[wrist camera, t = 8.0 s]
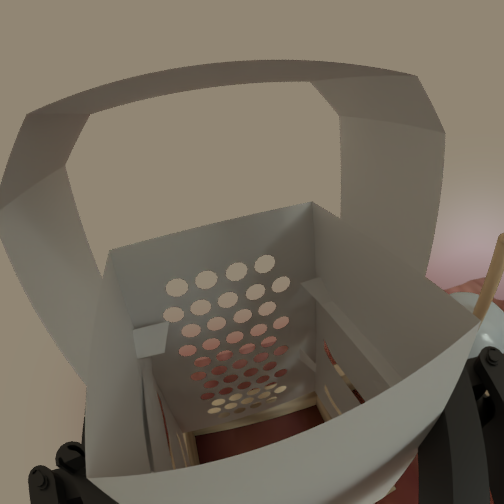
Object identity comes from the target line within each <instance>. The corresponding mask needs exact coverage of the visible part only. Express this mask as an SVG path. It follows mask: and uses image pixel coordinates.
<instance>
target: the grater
mask: <svg viewBox="0 0 504 504" xmlns="http://www.w3.org/2000/svg"><path fill="white" fill-rule="evenodd" d="M293 81H307V82H311V83H312V85H313V86H314V87H315V88H316V89H317V90H318V91H319V92H320V94H321V95H322V96H323V97H324V98H325V99H326V100H327V101H328V103H329V104H330V105H331V106H332V107H333V109H334V110H335V111H336V112H337V114H338V115H339V120H340V143H341V219H340V218H338V217H336V216H335V215H333V214H332V213H330V212H328V211H327V210H325V209H324V208H322V207H320V206H319V205H317V204H315V203H313V202H308V203H303V204H299V205H293V206H289V207H284V208H279V209H275V210H270V211H266V212H261V213H257V214H252V215H248V216H243V217H239V218H235V219H230V220H226V221H222V222H217V223H213V224H209V225H206V226H201V227H197V228H193V229H189V230H185V231H181V232H177V233H173V234H169V235H165V236H161V237H157V238H154V239H149V240H146V241H142V242H138V243H134V244H131V245H127V246H123V247H120V248H117V249H112V250H110V251H109V254H108V258H107V262H106V266H105V271H104V275H103V279H102V277H101V275H100V272H99V270H98V267H97V265H96V262H95V260H94V257H93V255H92V252H91V249H90V246H89V243H88V241H87V238H86V235H85V232H84V229H83V226H82V223H81V220H80V217H79V214H78V211H77V208H76V204H75V201H74V197H73V194H72V190H71V187H70V183H69V179H68V175H67V171H66V167H65V164H66V162H67V160H68V158H69V155H70V153H71V151H72V149H73V147H74V145H75V143H76V141H77V139H78V137H79V135H80V133H81V131H82V129H83V127H84V125H85V123H86V121H87V119H88V117H89V116H90V114H93V113H96V112H99V111H102V110H105V109H109V108H113V107H116V106H120V105H124V104H127V103H131V102H135V101H139V100H143V99H148V98H152V97H157V96H162V95H167V94H172V93H177V92H183V91H189V90H196V89H202V88H209V87H218V86H226V85H236V84H248V83H263V82H293ZM444 152H445V131H444V129H443V127H442V125H441V122H440V120H439V118H438V116H437V114H436V112H435V110H434V107H433V105H432V103H431V101H430V99H429V98H428V95H427V94H426V92H425V90H424V88H423V86H422V84H421V82H420V81H419V79H418V77H417V76H415V75H411V74H407V73H402V72H397V71H392V70H387V69H381V68H375V67H368V66H361V65H354V64H345V63H335V62H323V61H306V60H304V61H303V60H252V61H235V62H223V63H211V64H203V65H196V66H188V67H182V68H175V69H170V70H164V71H159V72H154V73H149V74H144V75H140V76H136V77H132V78H127V79H123V80H120V81H116V82H112V83H109V84H105V85H102V86H99V87H96V88H92V89H90V90H86V91H83V92H80V93H78V94H75V95H72V96H69V97H67V98H64V99H61V100H59V101H56V102H54V103H51V104H49V105H46V106H44V107H42V108H39V109H37V110H35V111H33V112H31V113H29V114H27V115H26V117H25V119H24V121H23V124H22V126H21V128H20V131H19V133H18V135H17V138H16V141H15V143H14V146H13V148H12V151H11V154H10V157H9V160H8V162H7V165H6V169H5V172H4V175H3V178H2V182H1V185H0V238H1V240H2V243H3V246H4V248H5V250H6V253H7V255H8V258H9V260H10V262H11V264H12V266H13V269H14V271H15V273H16V275H17V277H18V279H19V281H20V283H21V285H22V287H23V289H24V291H25V293H26V295H27V297H28V299H29V300H30V302H31V304H32V306H33V308H34V309H35V311H36V313H37V315H38V316H39V318H40V320H41V321H42V323H43V325H44V326H45V328H46V330H47V331H48V333H49V334H50V336H51V337H52V339H53V340H54V342H55V343H56V345H57V346H58V348H59V349H60V351H61V352H62V354H63V355H64V356H65V358H66V359H67V361H68V362H69V363H70V365H71V366H72V368H73V369H74V370H75V372H76V373H77V374H78V375H79V377H80V378H81V379H82V381H83V382H84V383H85V384H86V386H87V390H86V391H87V392H86V408H85V461H86V478H87V479H88V480H90V481H91V482H92V483H93V484H94V485H96V486H97V487H98V488H99V489H101V490H102V491H103V492H104V493H106V494H107V495H108V496H110V497H111V498H112V499H114V500H115V501H116V502H118V503H119V504H374V503H375V502H377V501H379V500H380V499H382V498H384V496H385V495H386V494H387V493H388V492H389V490H390V489H391V488H392V487H393V486H394V484H395V483H396V482H397V480H398V479H399V478H400V477H401V475H402V474H403V473H404V471H405V470H406V469H407V467H408V466H409V464H410V463H411V462H412V460H413V459H414V457H415V456H416V454H417V453H418V446H419V445H420V444H421V443H422V441H423V440H424V438H425V437H426V436H427V434H428V433H429V432H430V430H431V429H432V427H433V426H434V424H435V423H436V421H437V420H438V418H439V417H440V415H441V413H442V412H443V410H444V408H445V406H446V404H447V402H448V400H449V398H450V396H451V394H452V392H453V390H454V388H455V386H456V384H457V382H458V379H459V377H460V375H461V373H462V370H463V368H464V366H465V363H466V361H467V358H468V356H469V353H470V351H471V348H472V345H473V343H474V340H475V337H476V334H477V331H478V328H479V325H480V322H481V320H480V319H478V318H477V317H476V316H475V315H474V314H472V313H471V312H470V311H469V310H468V309H466V308H465V307H464V306H463V305H461V304H460V303H459V302H458V301H456V300H455V299H454V298H452V297H451V296H450V295H449V294H447V293H446V292H445V291H443V290H442V289H441V288H439V287H438V286H437V285H436V284H434V283H433V282H432V281H430V280H429V279H428V278H426V277H425V275H426V271H427V266H428V262H429V258H430V253H431V248H432V244H433V239H434V234H435V228H436V222H437V216H438V210H439V203H440V195H441V187H442V178H443V167H444ZM263 255H271V256H273V257H274V259H275V265H274V267H273V268H272V269H271V271H269V272H267V273H261V274H260V273H258V272H256V271H255V268H254V265H255V262H256V261H257V259H258V258H259V257H261V256H263ZM237 262H242V263H244V264H245V265H246V266H247V268H248V270H247V274H246V276H245V277H244V278H243V279H241V280H239V281H231V280H229V279H227V277H226V270H227V268H228V267H229V266H230V265H232V264H233V263H237ZM208 270H209V271H213V272H215V273H216V275H217V276H218V279H217V283H216V284H215V285H214V286H213V287H211V288H209V289H201V288H198V287H197V285H196V284H195V278H196V277H197V275H198V274H199V273H201V272H203V271H208ZM282 276H287V277H288V278H289V279H290V285H289V287H288V288H287V289H286V290H285V291H283V292H280V293H276V292H273V291H272V288H271V287H272V283H273V282H274V281H275V280H276V279H277V278H279V277H282ZM176 278H181V279H183V280H185V281H186V282H187V283H188V291H187V292H186V293H185V294H184V295H182V296H180V297H173V296H170V295H168V294H167V292H166V285H167V283H168V282H169V281H171V280H173V279H176ZM254 284H262V285H264V287H265V289H266V290H265V294H264V295H263V296H262V297H261V298H259V299H257V300H249V299H247V298H246V296H245V294H246V291H247V289H248V288H249V287H250V286H252V285H254ZM226 292H234V293H236V294H237V296H238V302H237V303H236V304H235V305H234V306H232V307H230V308H222V307H220V306H219V305H218V303H217V302H218V298H219V297H220V296H221V295H222V294H224V293H226ZM203 299H205V300H207V301H209V302H210V303H211V309H210V311H209V312H208V313H206V314H204V315H199V316H197V315H194V314H192V312H191V311H190V306H191V305H192V303H193V302H195V301H197V300H203ZM269 301H272V302H275V304H276V309H275V310H274V312H273V313H271V314H269V315H268V316H261V315H259V313H258V309H259V307H260V306H261V305H262V304H263V303H265V302H269ZM170 307H179V308H181V309H182V310H183V311H184V317H183V318H182V320H180V321H178V322H174V323H173V322H172V323H171V322H169V321H166V320H165V319H164V318H163V313H164V311H165V310H166V309H168V308H170ZM241 309H249V310H251V312H252V317H251V318H250V319H249V320H248V321H246V322H244V323H236V322H234V320H233V316H234V314H235V313H236V312H237V311H239V310H241ZM283 316H286V317H289V323H288V324H287V325H286V326H285V327H283V328H281V329H274V328H273V323H274V321H275V320H276V319H278V318H280V317H283ZM214 317H223V318H225V320H226V325H225V326H224V327H223V328H222V329H220V330H217V331H212V330H209V329H208V328H207V322H208V321H209V320H210V319H212V318H214ZM188 324H197V325H199V326H200V327H201V332H200V333H199V334H198V335H197V336H195V337H190V338H188V337H185V336H183V335H182V334H181V330H182V328H183V327H184V326H186V325H188ZM257 324H266V325H267V327H268V328H267V331H266V332H265V333H264V334H262V335H260V336H252V335H251V334H250V330H251V329H252V328H253V327H254V326H255V325H257ZM134 328H135V329H134ZM234 331H240V332H242V333H243V334H244V336H243V339H242V340H241V341H239V342H237V343H234V344H230V343H227V341H226V337H227V335H228V334H230V333H232V332H234ZM269 336H274V337H276V338H277V340H276V343H274V344H273V345H272V346H270V347H266V348H264V347H262V346H261V342H262V341H263V340H264V339H265V338H267V337H269ZM210 338H216V339H219V341H220V345H219V346H218V348H216V349H214V350H205V349H204V348H203V347H202V344H203V342H204V341H205V340H207V339H210ZM324 340H325V342H326V344H327V346H328V349H329V351H330V353H331V355H332V357H333V359H334V360H335V362H336V363H337V364H338V366H339V367H340V368H341V370H342V371H343V372H344V374H345V375H346V376H347V378H348V379H349V380H350V382H351V383H352V384H353V386H354V387H355V388H356V390H357V391H358V393H359V394H360V395H361V397H362V398H363V399H364V401H365V403H363V404H360V402H359V401H358V399H357V398H356V397H355V395H354V394H353V393H352V391H351V390H350V388H349V387H348V386H347V384H346V383H345V382H344V380H343V379H342V377H341V376H340V375H339V373H338V372H337V371H336V369H335V368H334V366H333V365H332V363H331V361H330V359H329V358H328V356H327V354H326V352H325V350H324ZM248 343H253V344H255V346H256V347H255V350H254V351H253V352H251V353H249V354H240V352H239V349H240V348H241V347H242V346H243V345H245V344H248ZM184 345H193V346H196V348H197V352H196V353H195V354H193V355H191V356H187V357H184V356H181V355H180V354H179V349H180V348H181V347H182V346H184ZM283 345H286V346H288V350H287V351H286V352H285V353H284V354H282V355H279V356H275V355H274V354H273V353H274V350H275V349H277V348H278V347H280V346H283ZM224 350H229V351H232V352H233V356H232V357H231V358H230V359H228V360H226V361H219V360H217V359H216V355H217V354H218V353H219V352H222V351H224ZM263 352H266V353H268V354H269V356H268V358H267V359H266V360H264V361H262V362H258V363H257V362H254V360H253V359H254V357H255V356H256V355H257V354H259V353H263ZM149 356H151V358H152V359H153V409H152V405H151V402H150V398H149V394H148V391H147V387H146V383H145V379H144V374H143V370H142V375H143V386H144V396H145V405H146V413H147V421H148V428H149V435H150V441H151V447H152V453H153V459H154V464H155V469H156V473H151V471H150V466H149V460H148V454H147V448H146V442H145V435H144V427H143V419H142V411H141V401H140V390H139V377H138V361H137V359H140V358H144V357H149ZM200 357H209V358H210V359H211V363H210V364H209V365H207V366H205V367H197V366H195V365H194V361H195V360H196V359H197V358H200ZM241 359H245V360H247V361H248V363H247V365H246V366H245V367H243V368H241V369H234V368H233V367H232V364H233V363H234V362H235V361H237V360H241ZM272 361H274V362H276V363H277V365H276V367H274V368H273V369H271V370H268V371H265V370H263V366H264V365H265V364H267V363H269V362H272ZM222 365H223V366H226V367H227V371H226V372H225V373H223V374H221V375H213V374H212V373H211V370H212V369H213V368H215V367H217V366H222ZM250 368H257V369H258V372H257V373H256V374H255V375H253V376H250V377H245V376H244V375H243V374H244V372H245V371H246V370H248V369H250ZM281 369H287V373H286V374H285V375H283V376H281V377H274V374H275V373H276V372H277V371H279V370H281ZM200 371H202V372H205V373H206V374H207V375H206V377H205V378H204V379H202V380H198V381H195V380H192V379H191V378H190V376H191V375H192V374H193V373H195V372H200ZM232 374H235V375H237V376H238V379H237V380H236V381H234V382H231V383H225V382H224V381H223V379H224V378H225V377H226V376H228V375H232ZM264 375H268V376H270V378H269V380H267V381H266V382H264V383H257V382H256V380H257V379H258V378H259V377H261V376H264ZM210 380H216V381H218V382H219V384H218V385H217V386H216V387H214V388H205V387H204V384H205V383H206V382H208V381H210ZM247 381H248V382H251V385H250V386H249V387H248V388H246V389H238V388H237V387H238V385H239V384H240V383H243V382H247ZM373 381H377V382H380V383H384V384H387V385H389V386H390V387H391V388H389V389H388V390H386V391H384V392H383V393H380V391H379V390H378V388H377V387H376V385H375V384H374V382H373ZM271 382H277V385H276V386H275V387H274V388H271V389H268V390H267V389H265V388H264V387H265V386H266V385H267V384H269V383H271ZM325 385H326V387H327V389H328V391H329V394H330V396H331V398H332V400H333V401H334V403H335V404H336V406H337V407H338V409H339V410H340V412H341V413H342V415H339V414H338V412H337V411H336V409H335V408H334V406H333V405H332V403H331V401H330V399H329V397H328V395H327V394H326V392H325ZM281 386H286V389H285V390H284V391H282V392H280V393H275V392H274V391H275V390H276V389H277V388H279V387H281ZM227 387H231V388H233V391H232V392H231V393H229V394H226V395H220V394H219V391H220V390H221V389H223V388H227ZM253 388H260V391H259V392H258V393H256V394H254V395H248V394H247V392H248V391H249V390H251V389H253ZM313 391H315V392H316V394H317V395H318V397H319V399H320V400H321V402H322V403H323V405H324V407H325V408H326V410H327V411H328V413H329V414H330V416H331V418H332V419H331V420H329V421H327V422H325V423H323V424H320V425H318V426H316V427H314V428H311V429H309V430H307V431H304V432H302V433H299V434H297V435H294V436H292V437H289V438H287V439H284V440H281V441H279V442H276V443H273V444H270V445H267V446H265V447H262V448H259V449H256V450H252V451H249V452H246V453H243V454H239V455H236V456H232V457H229V458H225V459H221V460H217V461H213V462H209V463H205V464H201V465H196V466H191V465H190V461H189V457H188V453H187V449H186V446H185V441H184V437H183V433H186V432H191V431H195V430H199V429H203V428H207V427H211V426H215V425H218V424H222V423H226V422H229V421H232V420H236V419H239V418H242V417H246V416H249V415H252V414H255V413H258V412H261V411H264V410H267V409H270V408H272V407H275V406H278V405H281V404H283V403H286V402H289V401H291V400H294V399H296V398H299V397H301V396H304V395H306V394H309V393H311V392H313ZM264 392H270V395H269V396H268V397H266V398H262V399H260V398H258V396H259V395H260V394H262V393H264ZM157 393H158V395H159V397H160V400H161V403H162V407H163V411H164V416H165V420H166V425H167V430H168V435H169V440H170V445H171V450H172V454H173V459H174V463H175V467H176V470H174V469H173V465H172V461H171V456H170V452H169V447H168V442H167V437H166V432H165V427H164V421H163V416H162V411H161V407H160V403H159V399H158V395H157ZM205 393H214V394H215V396H214V397H213V398H211V399H208V400H202V399H201V396H202V395H203V394H205ZM234 394H242V397H241V398H240V399H238V400H234V401H232V400H229V398H230V397H231V396H232V395H234ZM250 397H251V398H254V400H253V401H252V402H250V403H248V404H242V403H241V401H242V400H244V399H246V398H250ZM271 397H277V399H276V400H275V401H274V402H271V403H266V400H267V399H269V398H271ZM217 399H224V400H225V402H224V403H223V404H221V405H217V406H215V405H212V402H213V401H214V400H217ZM257 402H261V403H262V404H261V405H260V406H259V407H257V408H250V406H251V405H252V404H254V403H257ZM230 403H237V406H236V407H234V408H232V409H225V406H226V405H227V404H230ZM212 408H220V409H221V410H220V411H219V412H217V413H213V414H211V413H208V411H209V410H210V409H212ZM238 408H246V409H245V411H243V412H241V413H234V411H235V410H236V409H238ZM225 412H229V413H230V415H229V416H227V417H224V418H219V417H218V415H219V414H221V413H225ZM176 432H177V433H176ZM177 434H178V436H179V438H180V442H181V446H182V449H183V452H184V456H185V460H186V464H187V467H186V465H185V462H184V458H183V454H182V450H181V446H180V443H179V440H178V436H177Z"/></svg>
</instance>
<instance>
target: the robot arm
mask: <svg viewBox="0 0 504 504" xmlns="http://www.w3.org/2000/svg"><path fill="white" fill-rule="evenodd" d="M134 329H135V328H134ZM137 361H138V377H139V390H140V401H141V411H142V419H143V427H144V435H145V442H146V448H147V454H148V460H149V466H150V471H151V473H156V469H155V464H154V459H153V453H152V447H151V441H150V435H149V428H148V421H147V413H146V405H145V396H144V386H143V375H142V370H143V374H144V379H145V383H146V387H147V391H148V394H149V398H150V402H151V405H152V409H153V359H152V358H151V356H149V357H144V358H140V359H137ZM373 382H374V384H375V385H376V387H377V388H378V390H379V391H380V393H383V392H384V391H386V390H388V389H389V388H391V387H390V386H389V385H387V384H384V383H380V382H377V381H373ZM486 390H487V391H488V393H489V396H487V395H486V394H485V392H486ZM55 459H56V466H58V467H59V469H55V470H50V469H49V468H47V467H45V466H42V465H39V466H36V467H34V468H33V469H32V470H31V471H30V474H29V478H28V483H29V493H30V501H31V504H119V503H118V502H116V501H115V500H114V499H112V498H111V497H110V496H108V495H107V494H106V493H104V492H103V491H102V490H101V489H99V488H98V487H97V486H96V485H94V484H93V483H92V482H91V481H90V480H88V479H87V478H86V461H85V417H84V424H83V434H82V444H80V443H78V442H73V441H71V442H67V443H65V444H63V445H62V446H61V447H60V448H59V450H58V451H57V454H56V458H55ZM418 465H419V504H490V490H491V494H492V497H493V501H494V504H504V355H503V353H502V352H501V351H500V350H499V349H497V348H495V347H492V346H487V347H484V348H483V349H482V350H481V352H480V353H479V355H478V356H477V357H474V358H469V359H467V361H466V363H465V366H464V368H463V370H462V373H461V375H460V377H459V379H458V382H457V384H456V386H455V388H454V390H453V392H452V394H451V396H450V398H449V400H448V402H447V404H446V406H445V408H444V410H443V412H442V413H441V415H440V417H439V418H438V420H437V421H436V423H435V424H434V426H433V427H432V429H431V430H430V432H429V433H428V434H427V436H426V437H425V438H424V440H423V441H422V443H421V444H420V445H419V446H418ZM489 487H490V490H489Z"/></svg>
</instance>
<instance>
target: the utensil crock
mask: <svg viewBox="0 0 504 504" xmlns="http://www.w3.org/2000/svg"><path fill="white" fill-rule="evenodd" d="M503 271H504V233H502V234H500V235H499V237H498V240H497V243H496V247H495V250H494V254H493V257H492V260H491V263H490V267H489V270H488V273H487V276H486V278H485V281H484V284H483V287H482V289H481V292H480V295H477V294H474V293H469V292H457V293H452V294H449V295H450V296H451V297H452V298H454V299H455V300H456V301H458V302H459V303H460V304H461V305H463V306H464V307H465V308H466V309H468V310H469V311H470V312H471V313H472V314H474V315H475V316H476V317H477V318H478V319H480V320H481V322H480V325H479V328H478V331H477V334H476V337H475V340H474V343H473V345H472V348H471V351H470V353H469V356H468V358H467V359H469V358H474V357H477V356H478V355H479V353H480V352H481V350H482V349H483V348H484V347H487V346H492V347H495V348H497V349H499V350H500V351H501V352H502V353H503V354H504V312H503V311H502V310H501V309H500V308H499V307H498V306H497V305H496V304H495V303H493V302H492V300H493V297H494V295H495V292H496V290H497V287H498V285H499V282H500V280H501V277H502V274H503Z"/></svg>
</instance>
